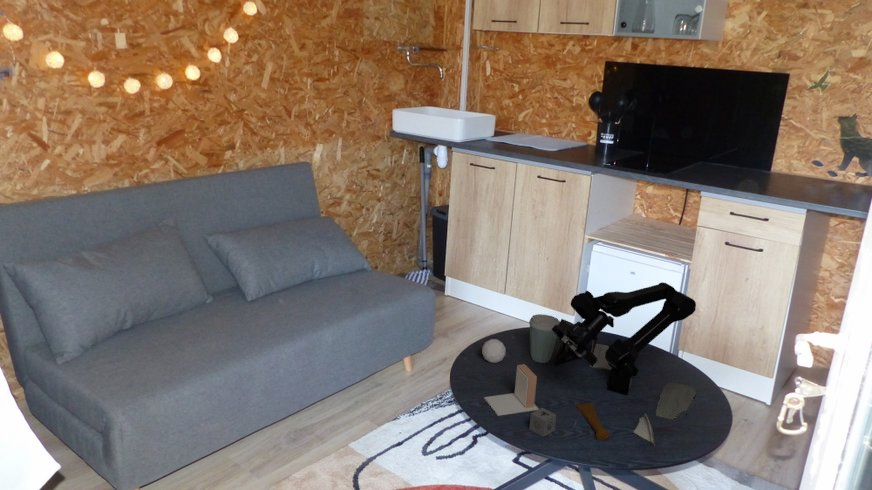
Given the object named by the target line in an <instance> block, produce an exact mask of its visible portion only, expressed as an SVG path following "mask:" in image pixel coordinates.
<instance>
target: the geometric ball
mask: <svg viewBox="0 0 872 490" xmlns="http://www.w3.org/2000/svg"><path fill="white" fill-rule="evenodd" d="M481 349H482V350H481V352H482V355H483V358H484V360H486V361H487V362H489V363H493V364H496V363H499V362H501V361H503V360H504V357H505V356H506V347H505V345H504V343H503V342H502V341H500V340H498V339H497V338H491V339H489V340H487V341H485V343H484V344H483V346H482V347H481Z"/></svg>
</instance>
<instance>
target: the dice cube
mask: <svg viewBox="0 0 872 490" xmlns="http://www.w3.org/2000/svg"><path fill="white" fill-rule="evenodd" d="M529 419H530V421H529V427H528V429H529V430H530V431H532V432H534V433H535V434H537V435H538V436H541V437H547V435H549V434H551V433H553V432H555V430H556V424H557V423H556V422H557V414H555V413H554V412H551V411H550V410H548V409H545V408H544V407H541V408H538V410H534V411H533V412H531V413H530V417H529Z"/></svg>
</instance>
